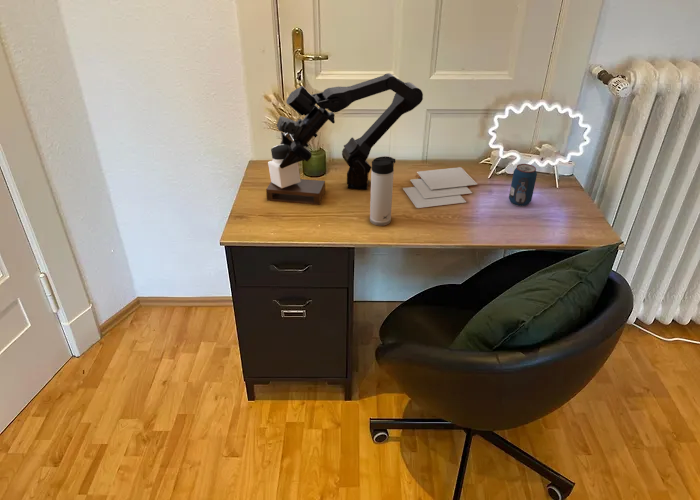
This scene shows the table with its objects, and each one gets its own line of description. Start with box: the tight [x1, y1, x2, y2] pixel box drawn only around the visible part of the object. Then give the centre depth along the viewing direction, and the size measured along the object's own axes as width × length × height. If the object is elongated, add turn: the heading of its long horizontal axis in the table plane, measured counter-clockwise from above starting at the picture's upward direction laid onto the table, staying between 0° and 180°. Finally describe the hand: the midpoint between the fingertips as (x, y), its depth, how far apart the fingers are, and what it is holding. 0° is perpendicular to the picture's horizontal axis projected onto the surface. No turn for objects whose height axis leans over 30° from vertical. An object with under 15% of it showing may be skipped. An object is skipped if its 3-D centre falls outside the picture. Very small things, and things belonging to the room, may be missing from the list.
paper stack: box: [402, 166, 479, 209], centre depth 179 cm, size 23×25×1 cm
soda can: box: [508, 163, 538, 208], centre depth 168 cm, size 7×7×12 cm
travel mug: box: [369, 155, 396, 227], centre depth 156 cm, size 6×7×20 cm
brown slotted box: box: [265, 178, 326, 206], centre depth 173 cm, size 17×9×4 cm, turn 81°
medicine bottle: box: [267, 144, 302, 188], centre depth 169 cm, size 7×7×12 cm
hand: (278, 162), depth 168 cm, fingers closed on medicine bottle, 7 cm apart
